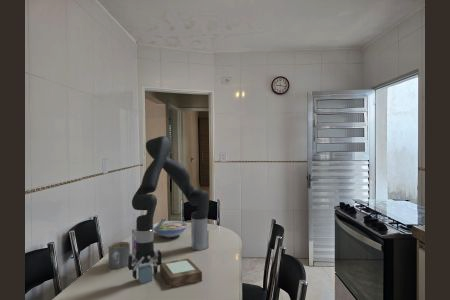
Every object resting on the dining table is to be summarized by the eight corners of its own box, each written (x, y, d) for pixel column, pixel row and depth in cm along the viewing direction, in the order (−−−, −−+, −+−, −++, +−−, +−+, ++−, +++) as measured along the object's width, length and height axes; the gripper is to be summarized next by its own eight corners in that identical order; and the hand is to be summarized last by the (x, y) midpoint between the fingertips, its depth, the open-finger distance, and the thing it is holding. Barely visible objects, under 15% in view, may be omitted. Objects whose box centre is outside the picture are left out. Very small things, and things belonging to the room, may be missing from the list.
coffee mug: (115, 260, 158) (115, 241, 158) (133, 261, 156) (133, 242, 156) (100, 271, 144) (100, 249, 144) (120, 272, 143) (120, 250, 143)
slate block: (149, 277, 138) (149, 263, 138) (152, 281, 133) (152, 267, 133) (138, 279, 136) (138, 265, 136) (140, 283, 131) (140, 269, 131)
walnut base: (188, 266, 149) (188, 257, 149) (201, 281, 133) (201, 271, 133) (159, 271, 143) (159, 262, 143) (170, 287, 127) (170, 277, 127)
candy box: (142, 261, 156) (142, 229, 156) (131, 260, 157) (131, 228, 157) (154, 252, 170) (153, 222, 170) (144, 251, 171) (144, 222, 171)
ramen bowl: (184, 242, 188) (184, 228, 188) (147, 242, 188) (147, 228, 188) (190, 230, 213) (189, 219, 213) (157, 230, 213) (157, 219, 213)
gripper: (158, 235, 141) (159, 270, 141) (126, 239, 135) (126, 276, 135) (163, 239, 134) (163, 276, 134) (129, 244, 128) (129, 283, 128)
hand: (145, 276), depth 134 cm, fingers open, 8 cm apart
